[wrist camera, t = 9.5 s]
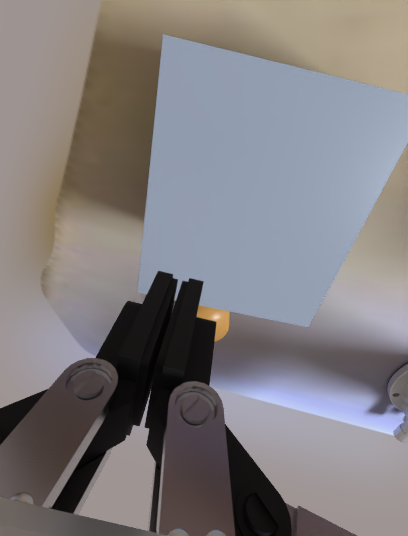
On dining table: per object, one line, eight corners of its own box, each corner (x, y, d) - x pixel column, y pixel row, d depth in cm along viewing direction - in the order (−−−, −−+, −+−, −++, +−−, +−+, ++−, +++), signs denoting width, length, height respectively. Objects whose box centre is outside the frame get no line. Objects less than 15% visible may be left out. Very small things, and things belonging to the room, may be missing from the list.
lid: (305, 319, 25) (308, 327, 24) (140, 285, 24) (137, 292, 23) (420, 98, 16) (430, 99, 15) (166, 36, 16) (162, 34, 15)
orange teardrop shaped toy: (223, 325, 40) (222, 348, 37) (176, 315, 40) (170, 337, 36) (235, 288, 37) (235, 309, 33) (184, 276, 36) (179, 296, 33)
